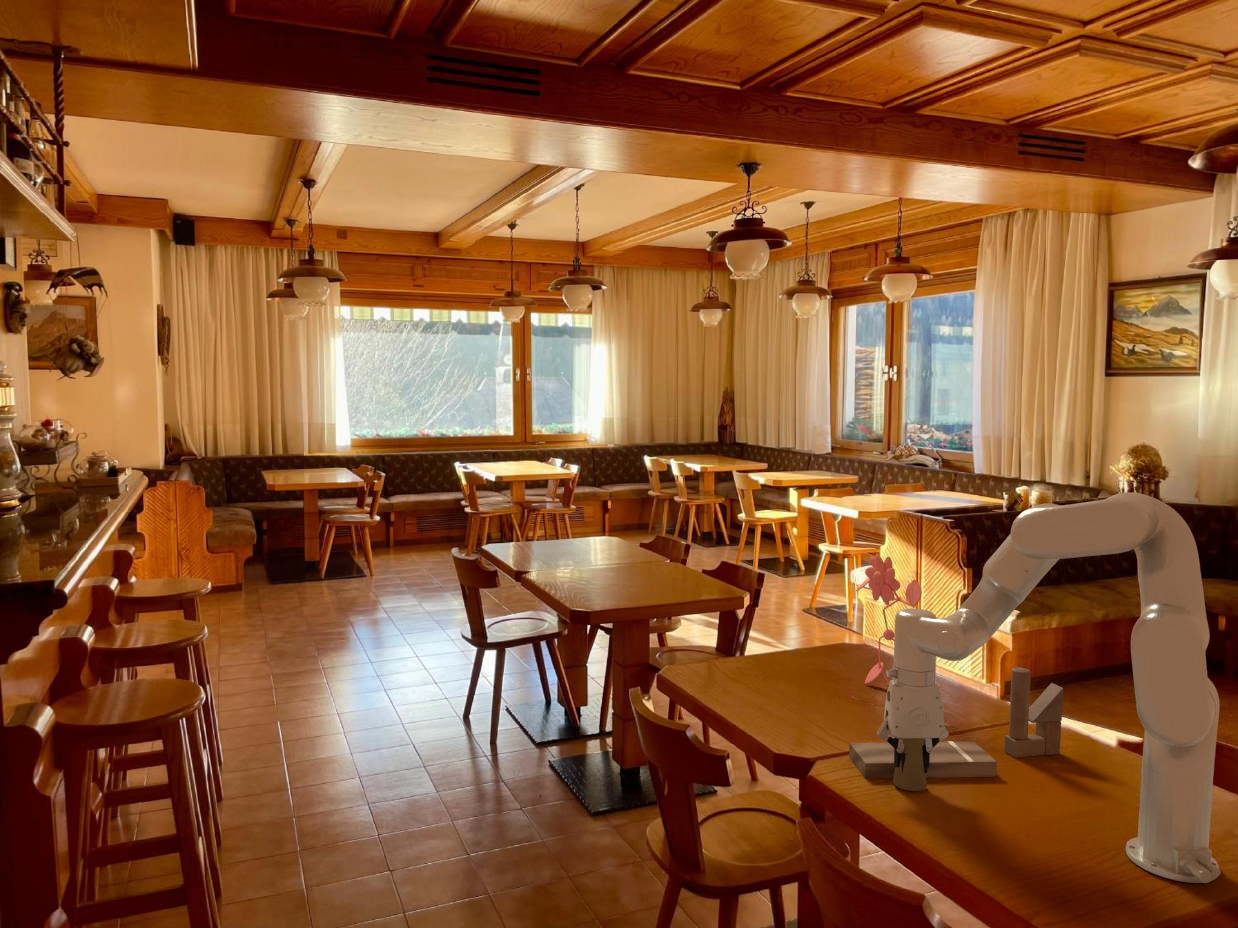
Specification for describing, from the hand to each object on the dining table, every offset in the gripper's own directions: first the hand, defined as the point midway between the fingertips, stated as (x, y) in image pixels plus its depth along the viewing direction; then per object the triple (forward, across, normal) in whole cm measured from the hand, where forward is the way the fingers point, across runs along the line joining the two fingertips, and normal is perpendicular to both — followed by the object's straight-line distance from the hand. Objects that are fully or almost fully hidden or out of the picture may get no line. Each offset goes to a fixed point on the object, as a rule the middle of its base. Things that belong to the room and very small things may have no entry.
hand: (911, 769), depth 167 cm
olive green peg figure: (+3, 0, 0) cm, 3 cm away
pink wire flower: (+3, +12, +52) cm, 53 cm away
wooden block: (+4, +32, +15) cm, 35 cm away
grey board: (+3, +6, +9) cm, 11 cm away
